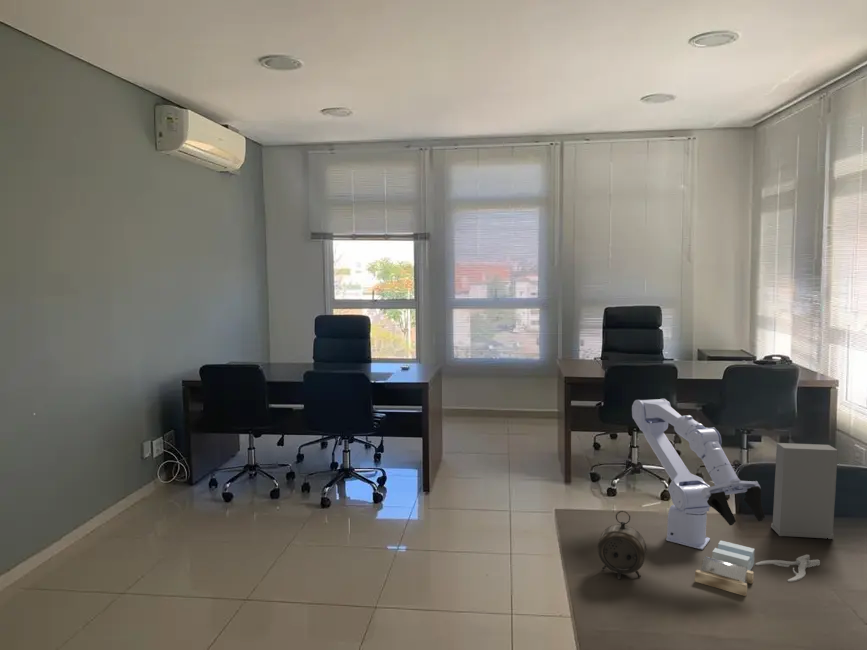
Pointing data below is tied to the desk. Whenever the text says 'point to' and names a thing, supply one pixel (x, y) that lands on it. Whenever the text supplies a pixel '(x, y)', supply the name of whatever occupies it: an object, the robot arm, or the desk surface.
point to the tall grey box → (804, 490)
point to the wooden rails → (724, 582)
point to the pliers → (800, 561)
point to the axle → (724, 569)
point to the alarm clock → (622, 549)
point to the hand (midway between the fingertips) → (747, 521)
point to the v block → (734, 554)
